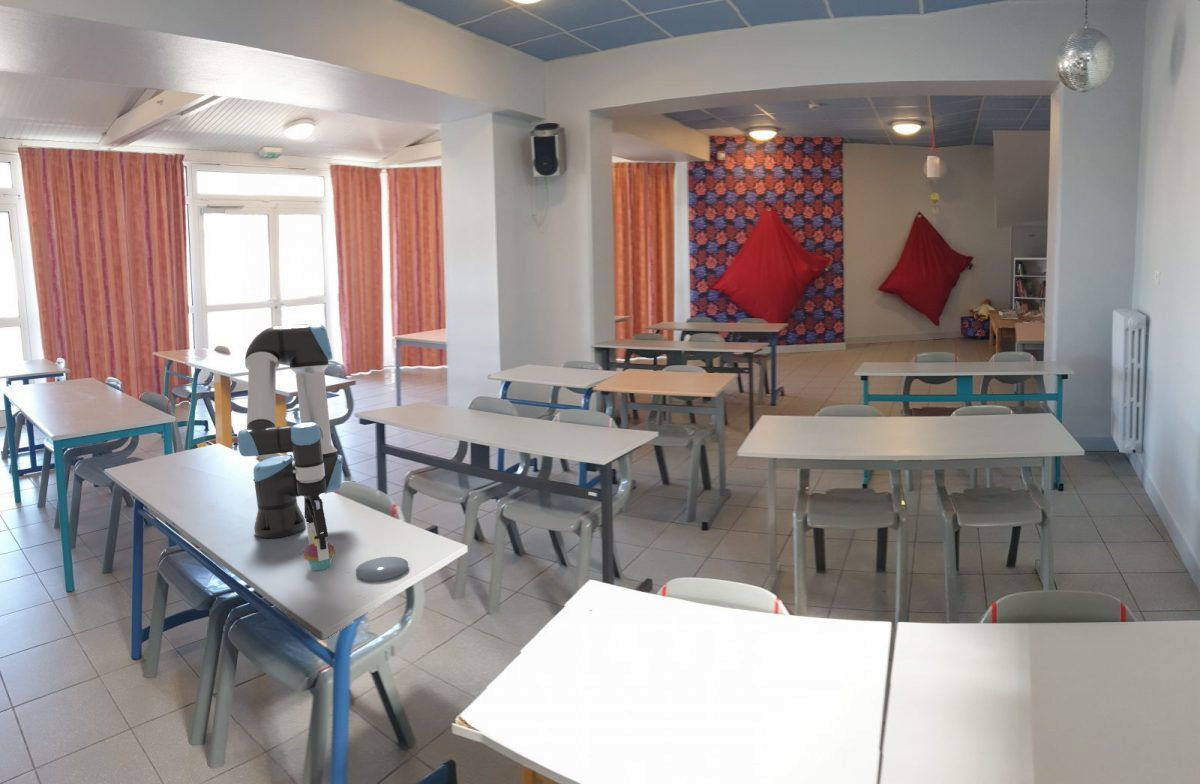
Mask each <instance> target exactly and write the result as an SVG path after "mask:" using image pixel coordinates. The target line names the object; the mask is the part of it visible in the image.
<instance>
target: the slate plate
mask: <svg viewBox="0 0 1200 784" xmlns="http://www.w3.org/2000/svg"><path fill="white" fill-rule="evenodd" d="M408 571H409V562H408V560H406V559H405V558H402V557H399V556H382V557H375V558H372V559H369V560H366V561H364V562H362V563H361V564H359V565H358V566H357V567H356V570H355V574H356V577H357V579H359V580H360V581H363V582H366V583H367V582H368V583H380V582H387V581H391V580H394V579H397V578H399V577H402V576H403V575H405V574H406V573H407V572H408Z"/></svg>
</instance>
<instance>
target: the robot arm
mask: <svg viewBox="0 0 1200 784" xmlns="http://www.w3.org/2000/svg"><path fill="white" fill-rule="evenodd" d="M333 358H334V357H333V353H332V347H331V343H330V339H329V336H328V332H327V329H326V327H325V325H324V324H320V323H307V324H295V325H294V324H293V325H283V326H282V325H278V326H275V325H274V326H272V327H268V328H266V329H264V330H263V331H261V332H259V334H258V335H256V336H255V337H254V339H253V340H252V341H251V343H250V344H249V346H248V347H247V350H246V351H245V358H244V360H245V361H244V364H245V367H246V369H247V371H248V376H247V378H248V383H247V384H248V385H247V407H246V408H247V412H246V413H247V415H246V428H245V429H244V430H243V429H242V430H241V429H240V430H239V431H238V433H237V445H238V451H239V453H240V455H241V456H242V457H259V456H265V455H266V456H267V455H274V454H283V455H276V456H273V457H269V458H266V459H264V460H261V461H260V462H258V463H256V465H254V466H253V467H254V468H253V482H254V488H255V497H256V504H257V512H256V517H255V522H254V534H255V536H256V537H259V538H262V539H276V538H277V539H278V538H283V537H288V536H292V535H294V534H298V533H300V532H301V531H303V530H304V529H305V528H306V529H307V539H308V546H309V545H310V544H313V543H314V540H313V536H312V530H313V531H314V533H315V537H314V539H316V542H317V551H318V560H319V561H322V560H326V559H329V552H328V543H329V542H328V537H329V532H328V527H327V522H326V516H325V512H324V505H323V504H324V502H323V500H322V498H320V495H321V494H325V495H326V494H328V493H329V494H330V493H334V492H338V491H340V490H341V487H342V483H343V480H342V478H343V457H344V456H343V455H341V454H338V449H337V448H336V447H335V446H333V444H332V437H331V436H332V434H331V427H330V416H329V406H328V405H329V404H328V396H327V385H326V376H325V375H326V374H325V371H326V369H328V367H329V361H330V360H333ZM280 364H289V370H291V371H292V372H293V373H294V374H295V379H296V388H297V399H298V409H299V416H300V417H299V418H300V422H299V423H296V424H293V425H283V426H282V425H281V426H276V425H277V424H276V423H277V422H276V420H277V419H276V418H277V417H276V416H277V415H276V413H277V412H276V409H277V408H276V406H277V405H276V398H277V397H276V395H277V394H276V393H277V391H276V390H277V389H276V385H277V383H276V379H277V378H276V377H277V376H276V371H277V370H278V368H279V367H280ZM286 453H293V458H292V456H291V455H285V454H286ZM297 497H304V501H303V503H304V514H303V512H302V511H301V509H300V506H299V505H298V500H297Z"/></svg>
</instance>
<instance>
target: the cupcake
mask: <svg viewBox="0 0 1200 784" xmlns="http://www.w3.org/2000/svg"><path fill="white" fill-rule="evenodd" d="M312 536H313V540H314V543H313V544H310V545H309V544H308V546H306V547H305V548H304V550H303V552H302V554H303V559H304V560H306V561H307V562H308V563H309V564H310V566H311V567H310V568H311V569H312V570H313V571H323V570H326V569H327V570H328V568H330V566H331V562H332V559H333V557H334V555H335V554H336V549H335V546H334V545H333V543H332V544H331V543H330V542H327V543H328V552H329V559H326V560H322V561H319V560H318V551H317V542H316V539H314V537H315V533H314V531H313V530H312Z"/></svg>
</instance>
